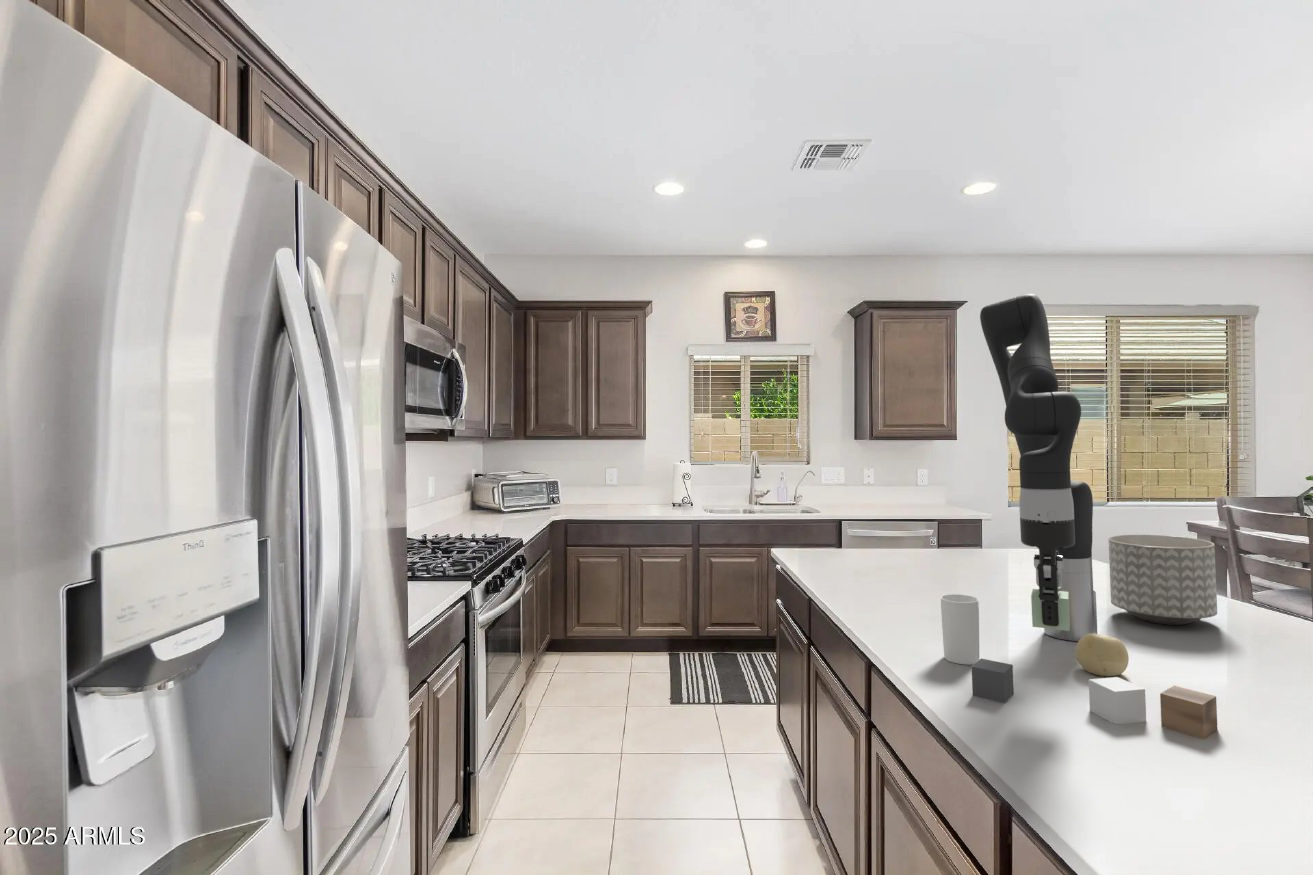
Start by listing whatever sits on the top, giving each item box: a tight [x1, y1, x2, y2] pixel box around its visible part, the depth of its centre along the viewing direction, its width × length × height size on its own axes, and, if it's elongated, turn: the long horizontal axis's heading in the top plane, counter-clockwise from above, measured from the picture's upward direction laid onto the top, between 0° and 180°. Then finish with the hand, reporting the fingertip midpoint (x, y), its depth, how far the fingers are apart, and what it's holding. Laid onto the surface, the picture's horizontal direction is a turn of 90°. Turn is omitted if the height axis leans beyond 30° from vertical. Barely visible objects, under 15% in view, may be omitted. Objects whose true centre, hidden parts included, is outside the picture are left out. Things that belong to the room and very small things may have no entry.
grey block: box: [1088, 676, 1147, 725], centre depth 98 cm, size 5×5×5 cm
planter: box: [1107, 534, 1218, 626], centre depth 145 cm, size 19×19×18 cm
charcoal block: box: [971, 658, 1015, 704], centre depth 107 cm, size 5×5×5 cm
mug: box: [940, 593, 980, 666], centre depth 125 cm, size 10×7×12 cm, turn 137°
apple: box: [1075, 633, 1129, 677], centre depth 115 cm, size 8×8×8 cm
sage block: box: [1030, 588, 1070, 631], centre depth 103 cm, size 5×5×5 cm
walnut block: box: [1159, 685, 1218, 740], centre depth 93 cm, size 5×5×5 cm
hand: (1051, 619), depth 103 cm, fingers closed on sage block, 5 cm apart
